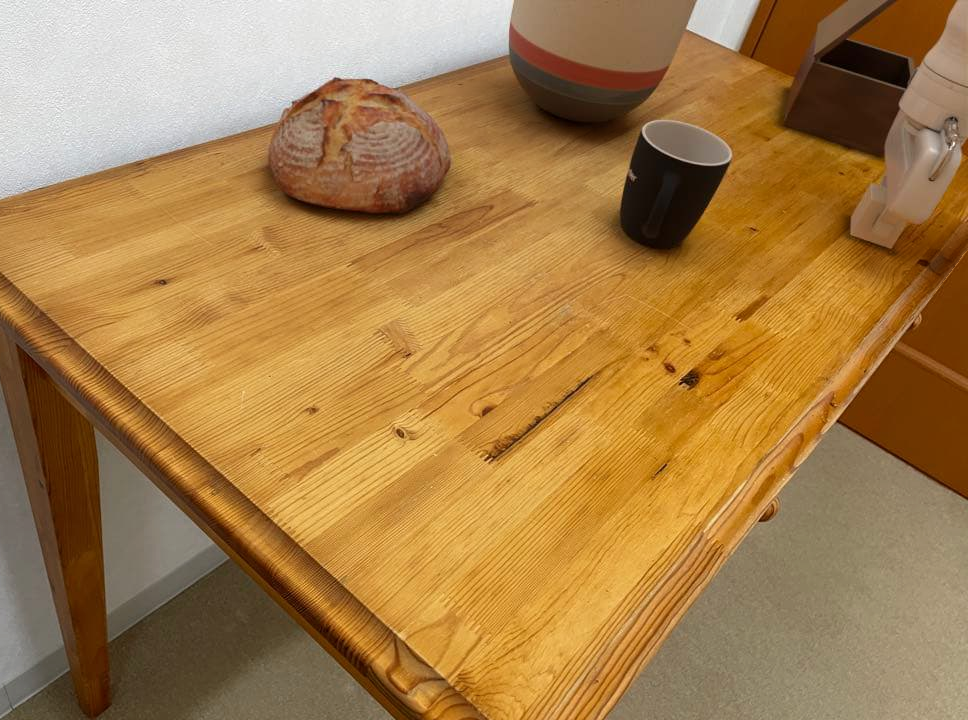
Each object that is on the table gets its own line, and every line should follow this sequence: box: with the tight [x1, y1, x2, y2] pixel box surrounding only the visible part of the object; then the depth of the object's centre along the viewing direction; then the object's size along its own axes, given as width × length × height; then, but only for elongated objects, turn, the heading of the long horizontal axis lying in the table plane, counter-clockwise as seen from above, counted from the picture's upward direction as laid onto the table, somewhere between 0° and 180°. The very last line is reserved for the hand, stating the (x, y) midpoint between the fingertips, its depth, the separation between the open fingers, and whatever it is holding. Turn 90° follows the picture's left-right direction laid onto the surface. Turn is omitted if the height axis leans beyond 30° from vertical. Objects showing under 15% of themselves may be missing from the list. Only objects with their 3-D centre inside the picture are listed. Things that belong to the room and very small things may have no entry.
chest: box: [782, 31, 916, 158], centre depth 118 cm, size 14×16×9 cm
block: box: [849, 182, 909, 249], centre depth 95 cm, size 5×5×5 cm
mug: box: [619, 119, 733, 250], centre depth 83 cm, size 12×9×10 cm
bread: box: [267, 76, 452, 215], centre depth 82 cm, size 16×20×10 cm
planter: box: [508, 0, 698, 123], centre depth 100 cm, size 20×20×21 cm
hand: (878, 220), depth 96 cm, fingers open, 5 cm apart
